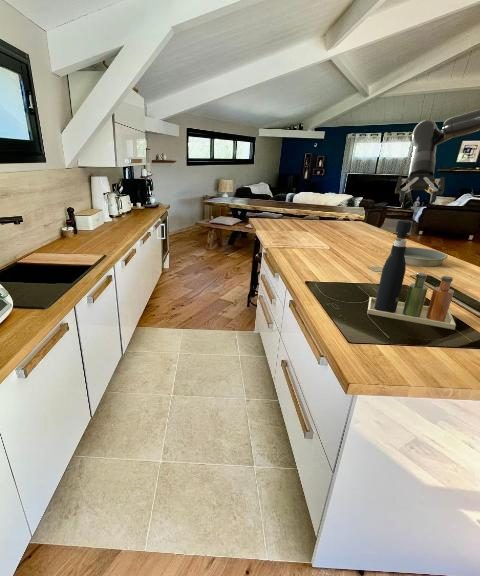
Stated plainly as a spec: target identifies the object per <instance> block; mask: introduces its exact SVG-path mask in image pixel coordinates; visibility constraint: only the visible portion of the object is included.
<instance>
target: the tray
mask: <svg viewBox="0 0 480 576" xmlns="http://www.w3.org/2000/svg"><path fill="white" fill-rule="evenodd" d="M368 299H369V300H368V306H367V311H366V312H367V315H373V316H378V317H384V318H388V319H389V318H390V319H395V320H399V321H405V322H412V323H416V324H422V325H427V326H431V327H437V328H438V327H439V328H444V329H448V330H456V327H457V324H456V321H455V319H454V317H453V314H452V312H451V310H450V309H448V313H447V316H446V319H445V321H444V322H440V321H434V320H429V319H427V318H426V314H427V310H428V307H429V305H423V308H422V312H421V315H420V317H412V316H406V315H404V314H403V313H402V312H403V308H404V304H405V301H404V302H403V301H398V304H397V308H396V312H395V313H389V312H384V311H378V310H376V309H375V308H374V307H375V302H376V297H372V296H369V298H368Z"/></svg>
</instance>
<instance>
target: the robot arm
mask: <svg viewBox="0 0 480 576" xmlns="http://www.w3.org/2000/svg"><path fill="white" fill-rule="evenodd" d="M479 131H480V108H479V109H475V110H471V111H469V112H468V111H467V112H465V113H461V114H458V115H454V116H452V117H448V118H447V119H446V120H445V121H444V122H443V125H442V129H439V128H438V125H437V124H436V122H435V121H434V120H432V119H424V120H422V121H420V122H419V123H418V124H416V126H415V127H414V129H413V131H412V146H413V152H412V157H411V160H410V165H409V172H408V176H407V178H403V176H398V179H397V183H396V186H395V190H394V194H396V195H397V194H399V202H400V203H401V204H403V203H404V202H405V199H406V198H405V197H406V193H410V191H412V190H413V191H425V192H426V193H429V194H430V199H429V204H430V205H432V204H434V203H436V201H437V197H438V195H439V196H441V195H443V194H444V191H445V184H446V182H445V181H446V178H445V176H440V178H435V169H436V163H437V162H436V161H437V160H436V156H437V155H436V154H437V146H438V145H440V144H442V143H445V142H447V141H449V140H451V139H453V138H457V137H461V136H466V135H470V134H473V133H475V132H479ZM404 183H405V184H406V185H405V186H404V187H401V186H403V185H404ZM435 184H436V186H435ZM437 187H438V188H437Z"/></svg>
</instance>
